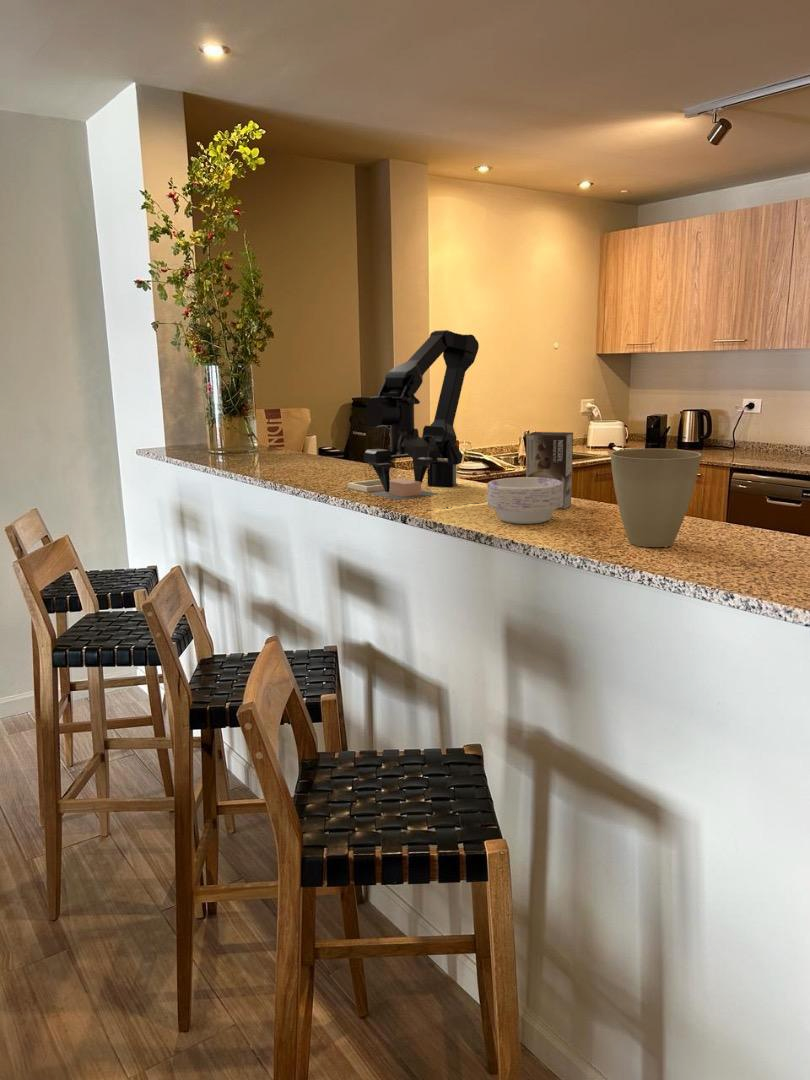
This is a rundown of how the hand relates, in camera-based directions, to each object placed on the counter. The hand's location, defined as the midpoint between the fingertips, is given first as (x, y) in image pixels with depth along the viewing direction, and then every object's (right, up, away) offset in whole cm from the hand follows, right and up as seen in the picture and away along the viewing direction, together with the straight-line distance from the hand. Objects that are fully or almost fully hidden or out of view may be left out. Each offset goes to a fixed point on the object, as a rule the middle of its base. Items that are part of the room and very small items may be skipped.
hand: (402, 489), depth 187 cm
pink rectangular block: (0, -1, 0) cm, 1 cm away
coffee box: (+32, -5, -14) cm, 36 cm away
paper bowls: (+25, -8, -29) cm, 39 cm away
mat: (-3, 0, +5) cm, 6 cm away
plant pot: (+43, -13, -50) cm, 68 cm away
